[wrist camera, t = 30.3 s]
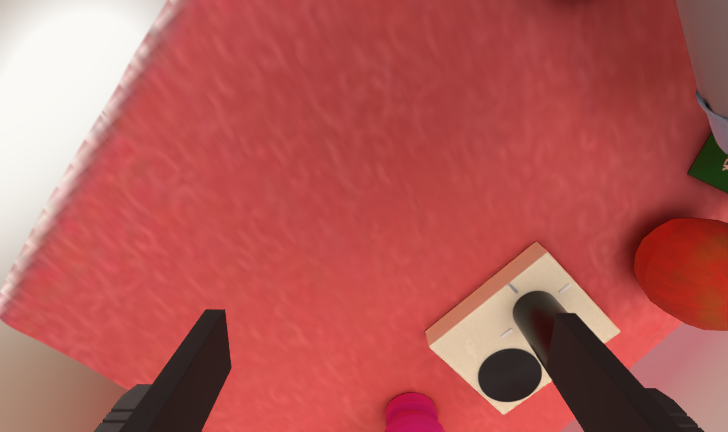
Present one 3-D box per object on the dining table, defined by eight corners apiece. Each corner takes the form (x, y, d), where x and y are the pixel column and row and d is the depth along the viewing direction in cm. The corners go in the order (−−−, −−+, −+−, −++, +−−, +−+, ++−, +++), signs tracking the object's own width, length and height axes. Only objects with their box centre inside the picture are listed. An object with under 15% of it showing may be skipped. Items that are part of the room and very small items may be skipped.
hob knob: (503, 310, 43) (536, 365, 34) (539, 281, 42) (583, 331, 33) (531, 338, 44) (570, 399, 35) (567, 311, 43) (617, 366, 34)
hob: (536, 240, 43) (548, 252, 40) (605, 316, 46) (622, 332, 43) (424, 331, 47) (428, 348, 44) (495, 396, 50) (503, 416, 47)
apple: (721, 268, 44) (838, 328, 33) (631, 307, 46) (715, 377, 35) (696, 189, 42) (815, 226, 31) (602, 233, 43) (683, 284, 32)
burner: (514, 336, 44) (515, 338, 43) (553, 375, 45) (555, 377, 45) (464, 374, 45) (465, 376, 45) (504, 410, 47) (505, 412, 46)
